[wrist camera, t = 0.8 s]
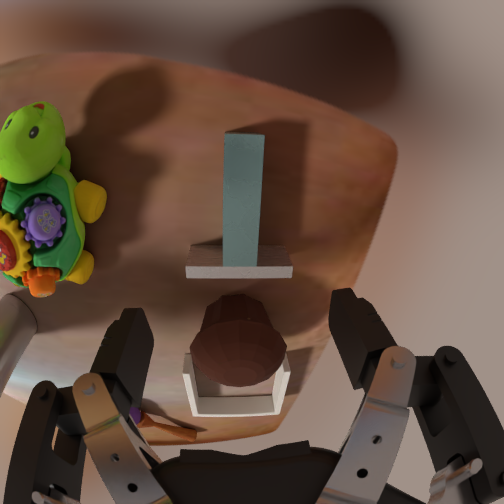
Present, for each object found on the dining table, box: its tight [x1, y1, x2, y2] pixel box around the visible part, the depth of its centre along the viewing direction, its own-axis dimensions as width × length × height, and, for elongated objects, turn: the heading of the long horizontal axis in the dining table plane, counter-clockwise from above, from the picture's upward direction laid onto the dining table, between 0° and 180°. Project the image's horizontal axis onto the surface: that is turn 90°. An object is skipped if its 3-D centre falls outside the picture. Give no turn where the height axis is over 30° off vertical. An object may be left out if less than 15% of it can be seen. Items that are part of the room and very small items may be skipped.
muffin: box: [190, 294, 287, 387], centre depth 33 cm, size 12×11×10 cm
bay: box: [183, 353, 291, 417], centre depth 42 cm, size 14×16×4 cm
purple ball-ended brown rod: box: [129, 407, 197, 442], centre depth 47 cm, size 6×6×20 cm
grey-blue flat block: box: [185, 132, 293, 278], centre depth 27 cm, size 14×11×5 cm
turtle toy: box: [0, 102, 107, 297], centre depth 21 cm, size 17×23×12 cm
